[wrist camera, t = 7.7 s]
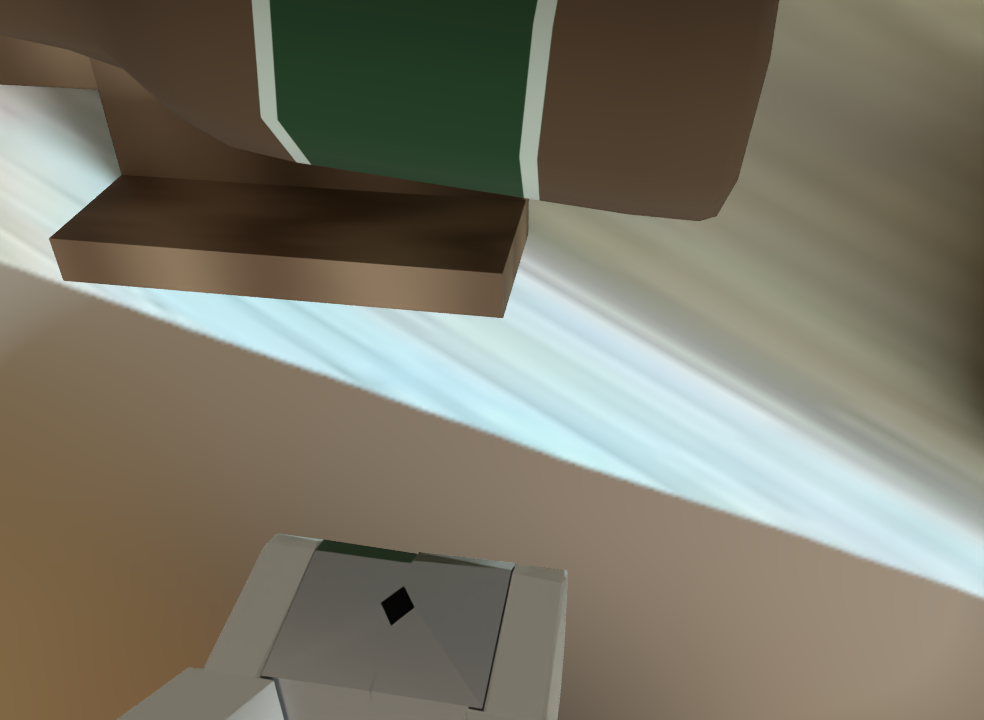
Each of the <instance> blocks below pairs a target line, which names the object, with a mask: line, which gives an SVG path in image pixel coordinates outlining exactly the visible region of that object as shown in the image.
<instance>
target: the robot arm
mask: <svg viewBox="0 0 984 720" xmlns="http://www.w3.org/2000/svg"><path fill="white" fill-rule="evenodd" d="M567 582H568V575H567V571H566V570H559V569H551V568H543V567H535V566H527V565H519V564H516V563H510V562H501V561H492V560H482V559H474V558H465V557H456V556H447V555H439V554H429V553H421V552H419V553H418V554H415V553H408V552H402V551H395V550H389V549H382V548H376V547H369V546H362V545H356V544H349V543H343V542H336V541H330V540H321V539H314V538H307V537H300V536H292V535H285V534H276V535H275V536H274V537H273V538H272V539H271V540H270V541H269V542H268V543H267V544H266V545H265V546H264V548H263V550H262V552H261V554H260V556H259V558H258V560H257V562H256V564H255V566H254V568H253V570H252V572H251V574H250V576H249V578H248V580H247V582H246V584H245V586H244V588H243V590H242V592H241V594H240V596H239V598H238V600H237V602H236V604H235V606H234V608H233V610H232V612H231V614H230V616H229V618H228V620H227V622H226V624H225V626H224V628H223V630H222V632H221V634H220V636H219V638H218V640H217V642H216V644H215V646H214V648H213V650H212V652H211V654H210V656H209V658H208V660H207V662H206V664H205V666H204V668H203V669H198V668H187V669H186V670H184V671H183V672H182V673H180V674H179V675H177V676H176V677H175V678H173V679H172V680H171V681H169V682H168V683H166V684H165V685H164V686H162V687H161V688H159V689H158V690H157V691H155V692H154V693H153V694H151V695H150V696H148V697H147V698H146V699H144V700H143V701H142V702H140V703H139V704H137V705H136V706H135V707H133V708H132V709H130V710H129V711H128V712H126V713H125V714H124V715H122V716H121V717H119V718H118V719H117V720H557V715H558V708H559V700H560V690H561V678H562V665H563V653H564V640H565V621H566V602H567Z"/></svg>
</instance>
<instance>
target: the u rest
mask: <svg viewBox="0 0 984 720" xmlns="http://www.w3.org/2000/svg"><path fill="white" fill-rule="evenodd" d="M0 84H1V85H21V86H41V87H61V88H80V89H98V91H99V95H100V98H101V102H102V105H103V109H104V113H105V116H106V120H107V123H108V127H109V131H110V134H111V138H112V141H113V145H114V148H115V152H116V156H117V159H118V163H119V166H120V170H121V174H122V175H121V176H120V177H119V178H118V179H117V180H115V181H114V182H113V183H112V184H111V185H110V186H109V187H107V188H106V189H105V190H104V191H103V192H102V193H101V194H99V195H98V196H97V197H96V198H95V199H94V200H93V201H91V202H90V203H89V204H88V205H87V206H86V207H85V208H83V209H82V210H81V211H80V212H79V213H78V214H77V215H75V216H74V217H73V218H72V219H71V220H70V221H69V222H67V223H66V224H65V225H64V226H63V227H62V228H61V229H59V230H58V231H57V232H56V233H55V234H54V235H53V236H51V237H50V238H49V240H50V243H51V246H52V249H53V251H54V254H55V257H56V260H57V263H58V266H59V269H60V272H61V275H62V278H63V280H64V281H74V282H86V283H97V284H109V285H121V286H133V287H144V288H156V289H168V290H180V291H191V292H203V293H215V294H227V295H238V296H250V297H262V298H274V299H285V300H297V301H309V302H320V303H332V304H344V305H356V306H367V307H379V308H391V309H403V310H414V311H426V312H438V313H450V314H461V315H473V316H485V317H497V318H503V316H504V313H505V310H506V306H507V303H508V300H509V296H510V293H511V290H512V286H513V283H514V280H515V276H516V273H517V270H518V266H519V263H520V260H521V256H522V253H523V250H524V246H525V243H526V240H527V236H528V202H529V199H528V198H521V197H515V196H508V195H502V194H496V193H489V192H483V191H476V190H470V189H464V188H457V187H451V186H444V185H438V184H432V183H425V182H419V181H412V180H406V179H400V178H393V177H387V176H380V175H374V174H368V173H361V172H355V171H348V170H342V169H335V168H329V167H323V166H316V165H310V164H303V163H297V162H293V161H289V160H284V159H280V158H276V157H272V156H268V155H263V154H259V153H255V152H251V151H247V150H243V149H238V148H234V147H231V146H229V145H227V144H225V143H223V142H222V141H220V140H218V139H216V138H214V137H212V136H211V135H209V134H207V133H205V132H203V131H201V130H200V129H198V128H196V127H194V126H192V125H190V124H189V123H187V122H185V121H183V120H181V119H179V118H178V117H176V116H175V115H174V114H173V113H172V112H171V111H169V110H168V109H167V108H166V107H165V106H164V105H163V104H162V103H160V102H159V101H158V100H157V99H156V98H155V97H154V96H153V95H152V94H150V93H149V92H148V91H147V90H146V89H145V88H144V87H143V86H141V85H140V84H139V83H138V82H137V81H136V80H135V79H134V78H133V77H131V76H130V75H129V74H128V73H127V72H126V71H125V70H124V69H122V68H119V67H116V66H113V65H110V64H108V63H105V62H102V61H99V60H96V59H93V58H90V57H87V56H85V55H82V54H79V53H76V52H73V51H70V50H67V49H62V48H58V47H53V46H49V45H44V44H39V43H35V42H30V41H25V40H21V39H16V38H12V37H7V36H2V35H0Z"/></svg>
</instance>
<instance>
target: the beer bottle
mask: <svg viewBox="0 0 984 720" xmlns="http://www.w3.org/2000/svg"><path fill="white" fill-rule="evenodd" d="M778 3H779V0H0V35H2V36H7V37H12V38H16V39H21V40H25V41H30V42H35V43H39V44H44V45H49V46H53V47H58V48H62V49H67V50H70V51H73V52H76V53H79V54H82V55H85V56H87V57H90V58H93V59H96V60H99V61H102V62H105V63H108V64H110V65H113V66H116V67H119V68H122V69H124V70H125V71H126V72H127V73H128V74H129V75H130V76H131V77H133V78H134V79H135V80H136V81H137V82H138V83H139V84H140V85H141V86H143V87H144V88H145V89H146V90H147V91H148V92H149V93H150V94H152V95H153V96H154V97H155V98H156V99H157V100H158V101H159V102H160V103H162V104H163V105H164V106H165V107H166V108H167V109H168V110H169V111H171V112H172V113H173V114H174V115H175V116H176V117H178V118H179V119H181V120H183V121H185V122H187V123H189V124H190V125H192V126H194V127H196V128H198V129H200V130H201V131H203V132H205V133H207V134H209V135H211V136H212V137H214V138H216V139H218V140H220V141H222V142H223V143H225V144H227V145H229V146H231V147H234V148H238V149H243V150H247V151H251V152H255V153H259V154H263V155H268V156H272V157H276V158H280V159H284V160H289V161H293V162H297V163H303V164H310V165H316V166H323V167H329V168H335V169H342V170H348V171H355V172H361V173H368V174H374V175H380V176H387V177H393V178H400V179H406V180H412V181H419V182H425V183H432V184H438V185H444V186H451V187H457V188H464V189H470V190H476V191H483V192H489V193H496V194H502V195H508V196H515V197H521V198H528V199H534V200H540V201H547V202H553V203H560V204H566V205H572V206H579V207H585V208H592V209H598V210H604V211H611V212H617V213H624V214H631V215H641V216H651V217H662V218H672V219H682V220H693V221H701V220H705V219H708V218H711V217H715V216H717V214H718V213H719V211H720V209H721V207H722V206H723V204H724V202H725V201H726V199H727V197H728V195H729V194H730V192H731V190H732V189H733V187H734V185H735V183H736V182H737V180H738V177H739V173H740V169H741V165H742V162H743V158H744V154H745V150H746V147H747V143H748V139H749V135H750V132H751V128H752V124H753V120H754V117H755V113H756V109H757V105H758V102H759V98H760V94H761V90H762V86H763V83H764V79H765V75H766V71H767V68H768V64H769V60H770V56H771V49H772V43H773V36H774V29H775V23H776V16H777V10H778Z"/></svg>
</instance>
